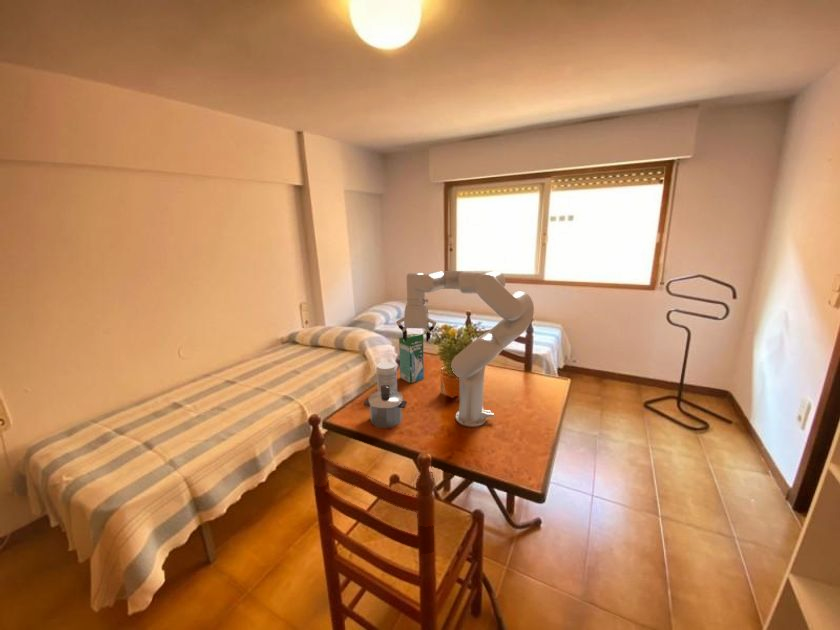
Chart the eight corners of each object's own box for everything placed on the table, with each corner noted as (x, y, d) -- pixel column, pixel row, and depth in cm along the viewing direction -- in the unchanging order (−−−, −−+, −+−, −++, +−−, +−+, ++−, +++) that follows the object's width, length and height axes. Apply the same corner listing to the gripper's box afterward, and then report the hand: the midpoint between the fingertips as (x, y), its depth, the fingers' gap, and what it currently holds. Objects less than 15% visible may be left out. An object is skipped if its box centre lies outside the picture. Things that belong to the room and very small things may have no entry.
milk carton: (413, 373, 186) (412, 329, 180) (423, 378, 179) (423, 333, 173) (400, 377, 181) (398, 333, 174) (410, 383, 174) (409, 337, 168)
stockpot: (409, 412, 146) (408, 394, 144) (403, 429, 134) (402, 409, 132) (370, 410, 149) (369, 391, 146) (361, 426, 136) (360, 406, 134)
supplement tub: (401, 394, 163) (400, 366, 159) (383, 399, 158) (382, 370, 154) (391, 386, 171) (390, 359, 167) (374, 391, 165) (372, 364, 162)
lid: (404, 395, 145) (404, 379, 144) (400, 412, 132) (399, 395, 130) (372, 394, 147) (372, 378, 145) (364, 410, 133) (364, 394, 131)
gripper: (437, 300, 145) (437, 338, 149) (397, 299, 147) (398, 337, 151) (435, 304, 138) (435, 343, 142) (394, 303, 140) (395, 342, 144)
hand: (416, 340), depth 147 cm, fingers open, 9 cm apart
